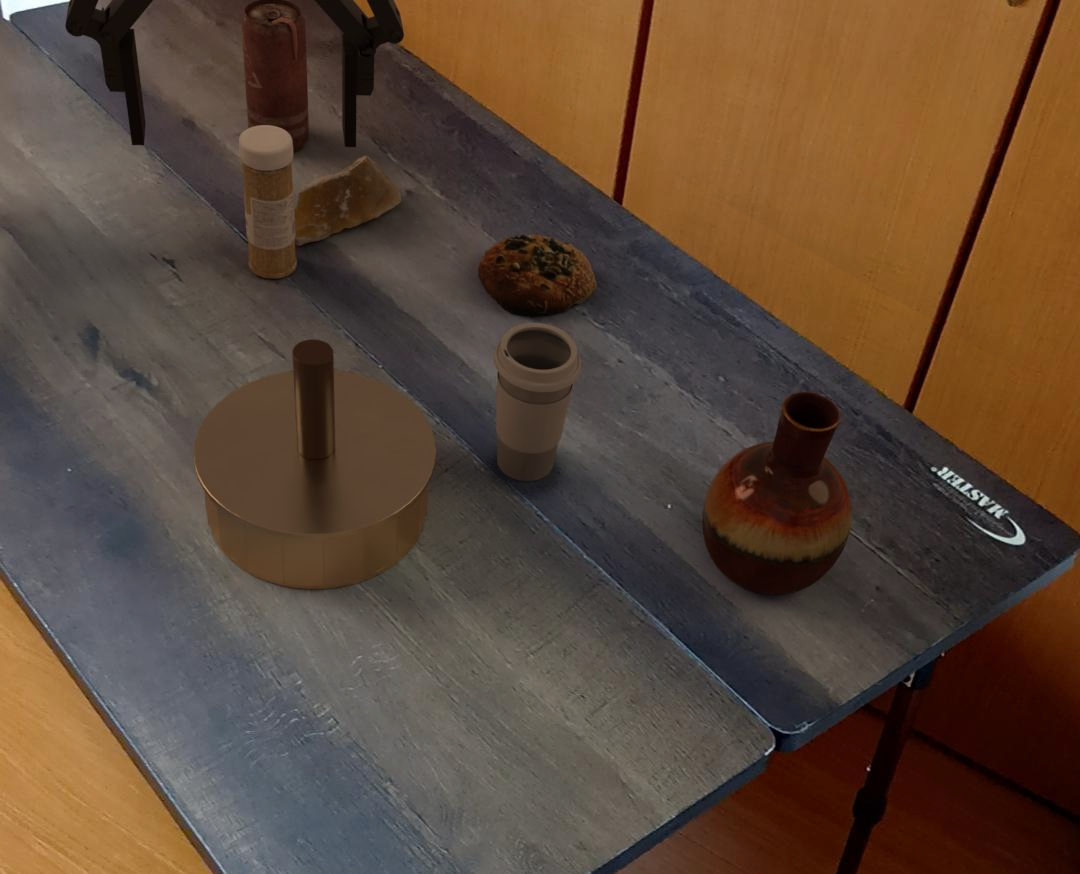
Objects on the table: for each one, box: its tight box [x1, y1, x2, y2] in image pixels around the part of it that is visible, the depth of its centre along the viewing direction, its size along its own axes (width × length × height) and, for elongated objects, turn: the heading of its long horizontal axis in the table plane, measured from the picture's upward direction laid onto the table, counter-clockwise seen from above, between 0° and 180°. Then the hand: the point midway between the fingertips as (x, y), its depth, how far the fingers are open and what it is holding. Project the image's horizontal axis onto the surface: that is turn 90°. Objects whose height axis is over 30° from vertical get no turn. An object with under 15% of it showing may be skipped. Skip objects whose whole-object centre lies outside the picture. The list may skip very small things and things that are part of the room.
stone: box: [294, 155, 402, 247], centre depth 127 cm, size 7×6×15 cm
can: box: [240, 0, 310, 154], centre depth 132 cm, size 6×6×14 cm
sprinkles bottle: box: [238, 125, 298, 280], centre depth 118 cm, size 5×5×13 cm
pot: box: [203, 485, 429, 590], centre depth 100 cm, size 17×17×6 cm
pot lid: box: [192, 338, 437, 540], centre depth 95 cm, size 18×18×10 cm
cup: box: [492, 322, 582, 482], centre depth 104 cm, size 7×7×12 cm
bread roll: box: [477, 233, 597, 316], centre depth 124 cm, size 11×11×5 cm
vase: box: [702, 391, 853, 596], centre depth 98 cm, size 11×11×15 cm
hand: (245, 135), depth 87 cm, fingers open, 13 cm apart
